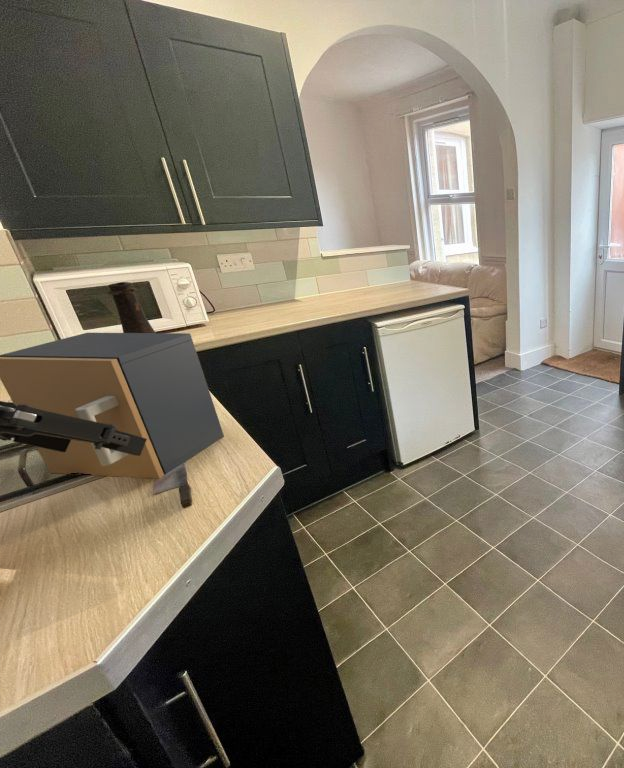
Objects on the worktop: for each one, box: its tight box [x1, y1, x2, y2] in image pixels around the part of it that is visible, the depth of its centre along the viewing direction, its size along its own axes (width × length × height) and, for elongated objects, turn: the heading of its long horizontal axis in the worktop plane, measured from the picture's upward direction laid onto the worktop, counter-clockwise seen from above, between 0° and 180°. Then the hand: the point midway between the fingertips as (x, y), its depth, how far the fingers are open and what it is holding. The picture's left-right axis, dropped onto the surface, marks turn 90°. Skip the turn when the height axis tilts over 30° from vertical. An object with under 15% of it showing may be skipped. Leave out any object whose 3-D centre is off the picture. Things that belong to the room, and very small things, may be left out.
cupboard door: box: [0, 357, 164, 480], centre depth 69 cm, size 6×22×22 cm, turn 83°
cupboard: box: [0, 332, 225, 474], centre depth 78 cm, size 14×22×22 cm, turn 83°
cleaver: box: [152, 463, 193, 508], centre depth 71 cm, size 16×1×5 cm
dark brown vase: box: [106, 281, 157, 333], centre depth 111 cm, size 18×18×28 cm
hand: (104, 445), depth 67 cm, fingers open, 13 cm apart
